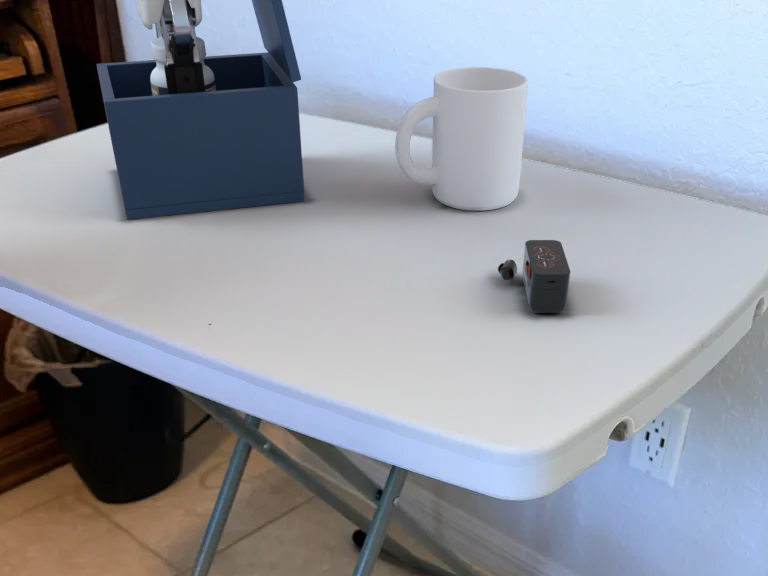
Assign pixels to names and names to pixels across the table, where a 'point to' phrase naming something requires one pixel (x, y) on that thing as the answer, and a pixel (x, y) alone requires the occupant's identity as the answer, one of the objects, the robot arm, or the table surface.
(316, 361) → the table surface
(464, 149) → the mug
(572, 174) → the table surface
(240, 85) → the dark blue open box
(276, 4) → the lid
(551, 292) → the wireless earbuds
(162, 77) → the pill bottle
